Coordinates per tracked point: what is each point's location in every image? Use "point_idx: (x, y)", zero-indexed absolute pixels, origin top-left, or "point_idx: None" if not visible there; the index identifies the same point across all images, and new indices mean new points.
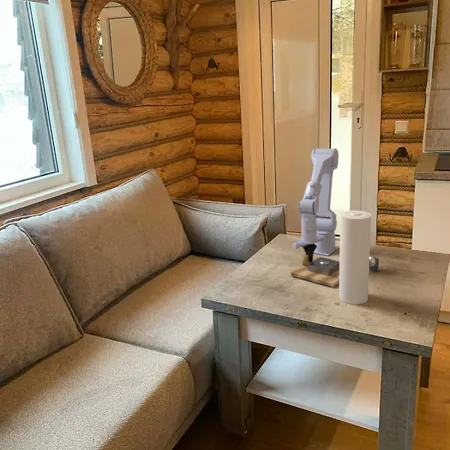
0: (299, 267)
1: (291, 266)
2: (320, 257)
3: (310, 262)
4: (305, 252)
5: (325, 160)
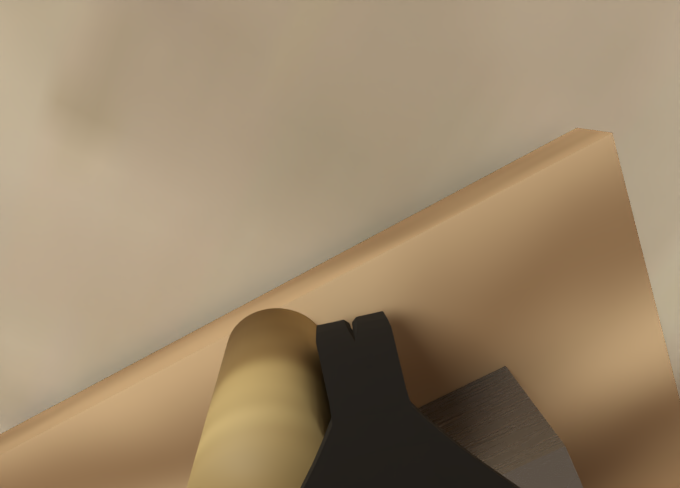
0: (146, 389)
1: (113, 131)
2: (548, 470)
3: (397, 294)
4: (325, 443)
5: None
